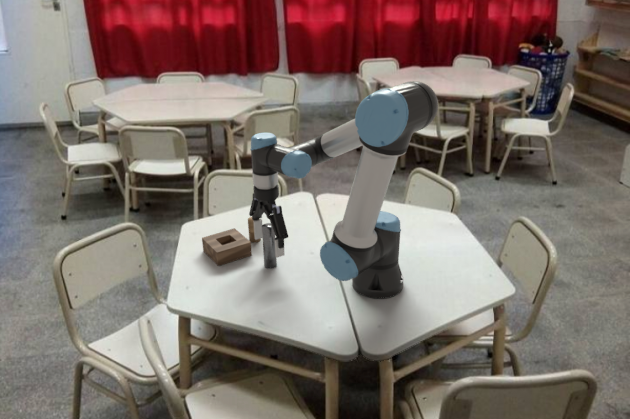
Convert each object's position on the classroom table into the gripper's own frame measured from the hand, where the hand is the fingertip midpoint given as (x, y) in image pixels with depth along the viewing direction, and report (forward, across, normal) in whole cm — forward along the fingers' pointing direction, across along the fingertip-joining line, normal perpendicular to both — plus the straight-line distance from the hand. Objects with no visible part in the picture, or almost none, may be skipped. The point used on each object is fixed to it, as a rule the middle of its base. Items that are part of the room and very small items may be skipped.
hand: (269, 247), depth 173 cm
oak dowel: (+7, +18, -4) cm, 19 cm away
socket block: (+7, +15, +8) cm, 18 cm away
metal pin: (+7, 0, 0) cm, 7 cm away
